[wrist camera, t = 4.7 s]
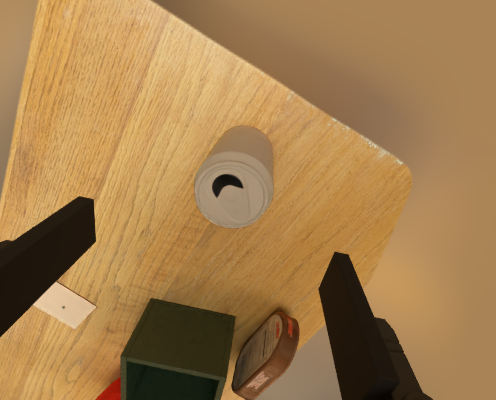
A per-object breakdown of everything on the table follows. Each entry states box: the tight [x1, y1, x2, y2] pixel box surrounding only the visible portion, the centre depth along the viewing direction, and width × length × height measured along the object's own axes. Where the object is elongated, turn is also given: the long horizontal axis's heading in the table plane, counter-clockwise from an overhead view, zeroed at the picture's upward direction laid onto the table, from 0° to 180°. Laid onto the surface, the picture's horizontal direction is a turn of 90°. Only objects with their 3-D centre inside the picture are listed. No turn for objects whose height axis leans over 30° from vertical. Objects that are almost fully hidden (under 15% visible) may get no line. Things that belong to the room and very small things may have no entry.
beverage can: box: [194, 126, 273, 229], centre depth 26 cm, size 6×6×12 cm
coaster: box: [33, 282, 96, 329], centre depth 45 cm, size 8×8×1 cm
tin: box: [231, 312, 299, 400], centre depth 40 cm, size 15×3×8 cm, turn 150°
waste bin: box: [121, 298, 236, 400], centre depth 42 cm, size 14×14×10 cm
